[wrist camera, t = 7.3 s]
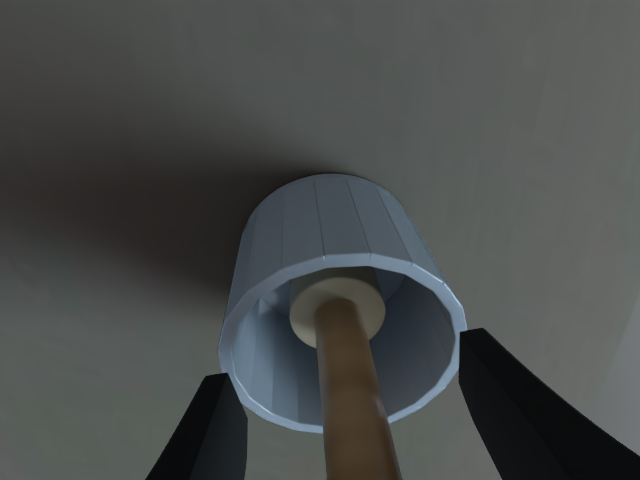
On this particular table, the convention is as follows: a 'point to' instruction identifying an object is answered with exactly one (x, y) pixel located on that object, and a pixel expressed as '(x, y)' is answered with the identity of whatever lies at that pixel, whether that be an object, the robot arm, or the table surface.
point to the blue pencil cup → (328, 252)
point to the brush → (346, 368)
